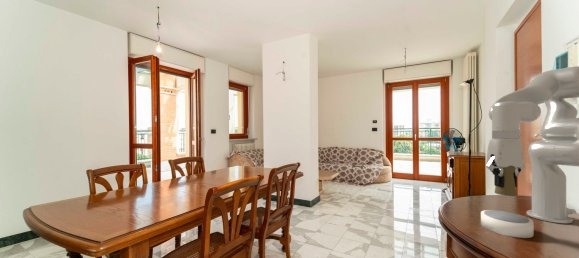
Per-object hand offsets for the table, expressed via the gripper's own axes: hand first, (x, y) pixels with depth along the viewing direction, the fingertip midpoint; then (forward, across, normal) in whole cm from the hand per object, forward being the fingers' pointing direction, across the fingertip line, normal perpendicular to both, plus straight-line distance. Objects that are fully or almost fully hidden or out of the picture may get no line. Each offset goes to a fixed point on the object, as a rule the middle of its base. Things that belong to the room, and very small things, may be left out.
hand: (505, 186), depth 86 cm
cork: (+3, 0, 0) cm, 3 cm away
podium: (+16, 0, 0) cm, 16 cm away
